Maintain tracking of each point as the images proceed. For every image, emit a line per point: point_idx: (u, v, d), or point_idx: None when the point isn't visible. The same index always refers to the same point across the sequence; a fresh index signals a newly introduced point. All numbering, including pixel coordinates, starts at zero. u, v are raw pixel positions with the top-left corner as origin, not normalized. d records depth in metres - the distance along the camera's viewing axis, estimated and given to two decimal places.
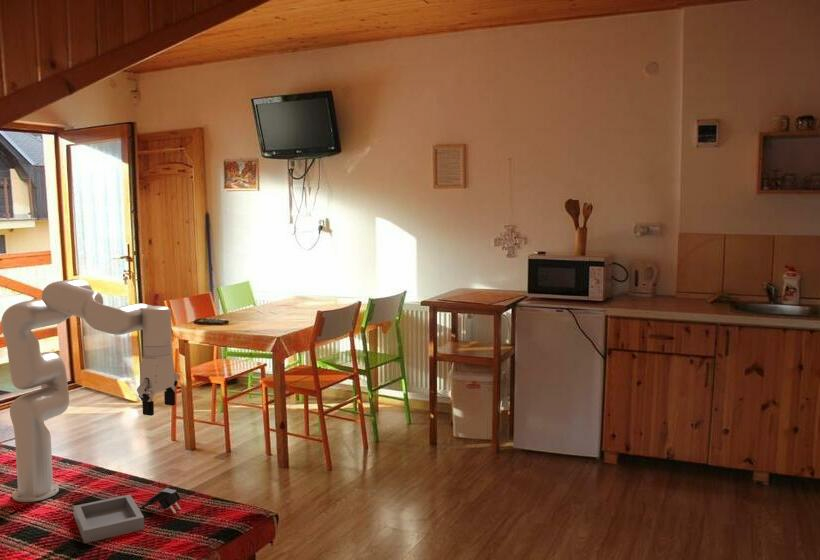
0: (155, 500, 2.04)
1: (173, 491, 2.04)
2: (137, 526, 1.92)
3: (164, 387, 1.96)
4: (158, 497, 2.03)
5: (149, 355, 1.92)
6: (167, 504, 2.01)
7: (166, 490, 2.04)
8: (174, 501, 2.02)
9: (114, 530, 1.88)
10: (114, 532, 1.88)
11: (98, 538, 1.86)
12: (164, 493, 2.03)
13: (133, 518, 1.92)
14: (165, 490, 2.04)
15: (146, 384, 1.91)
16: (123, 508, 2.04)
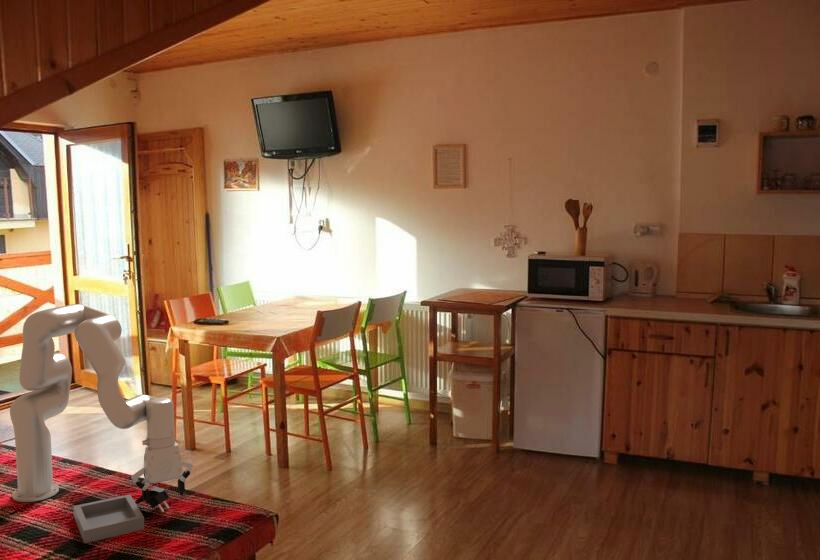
0: None
1: (161, 490, 2.04)
2: (137, 526, 1.92)
3: None
4: None
5: None
6: (155, 503, 2.02)
7: (154, 489, 2.04)
8: (162, 500, 2.02)
9: (114, 530, 1.88)
10: (114, 532, 1.88)
11: (98, 538, 1.86)
12: (152, 492, 2.04)
13: (133, 518, 1.92)
14: (153, 489, 2.04)
15: None
16: (123, 508, 2.04)
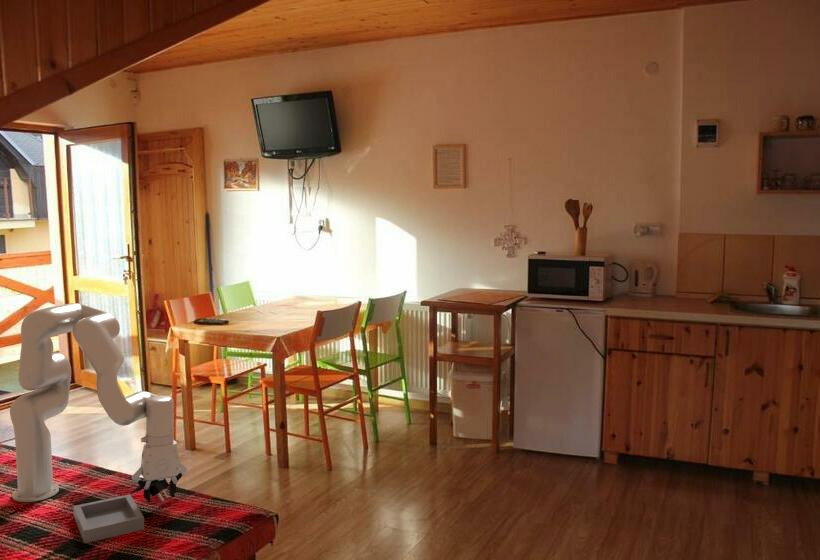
0: None
1: None
2: (137, 526, 1.92)
3: None
4: None
5: None
6: (155, 491, 2.03)
7: None
8: (162, 488, 2.04)
9: (114, 530, 1.88)
10: (114, 532, 1.88)
11: (98, 538, 1.86)
12: None
13: (133, 518, 1.92)
14: None
15: None
16: (123, 508, 2.04)
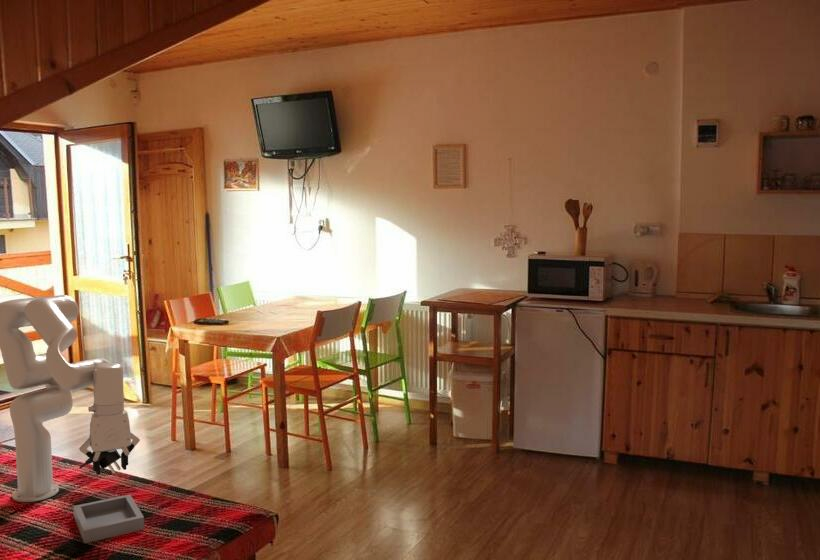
0: None
1: (112, 450, 1.96)
2: (137, 526, 1.92)
3: None
4: None
5: None
6: (106, 463, 1.93)
7: None
8: (113, 460, 1.94)
9: (114, 530, 1.88)
10: (114, 532, 1.88)
11: (98, 538, 1.86)
12: (103, 452, 1.95)
13: (133, 518, 1.92)
14: None
15: None
16: (123, 508, 2.04)
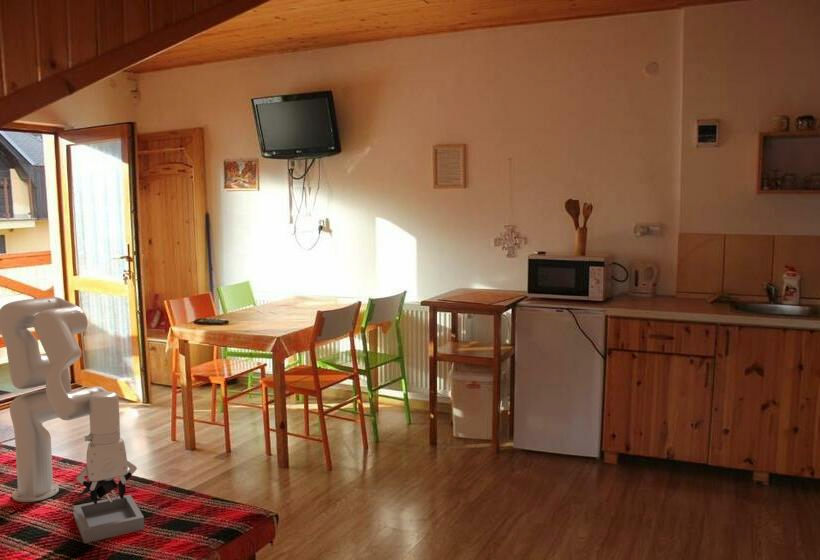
0: None
1: (109, 479, 1.96)
2: (137, 526, 1.92)
3: None
4: None
5: None
6: (103, 492, 1.93)
7: None
8: (110, 489, 1.94)
9: (114, 530, 1.88)
10: (114, 532, 1.88)
11: (98, 538, 1.86)
12: (100, 481, 1.95)
13: (133, 518, 1.92)
14: None
15: None
16: (123, 508, 2.04)
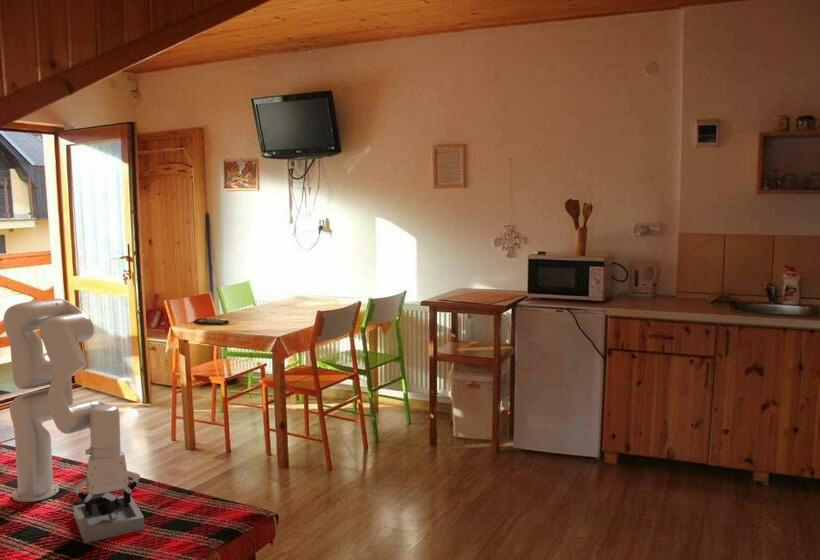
0: (93, 502, 1.96)
1: (113, 498, 1.96)
2: (137, 526, 1.92)
3: None
4: (96, 501, 1.95)
5: None
6: (105, 511, 1.94)
7: (106, 496, 1.95)
8: (113, 509, 1.95)
9: (114, 530, 1.88)
10: (114, 532, 1.88)
11: (98, 538, 1.86)
12: (104, 499, 1.95)
13: (133, 518, 1.92)
14: (105, 495, 1.95)
15: None
16: (123, 508, 2.04)
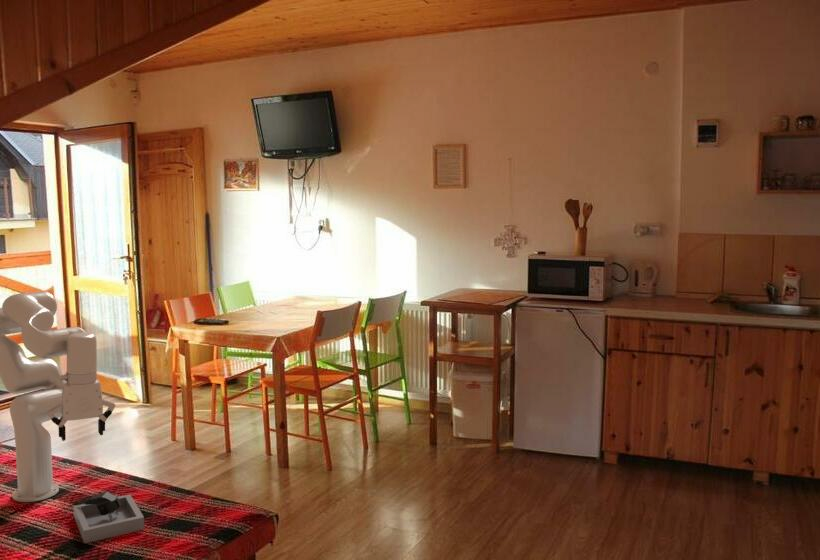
0: (93, 502, 1.96)
1: (113, 498, 1.96)
2: (137, 526, 1.92)
3: None
4: (97, 501, 1.95)
5: None
6: (105, 511, 1.94)
7: (106, 496, 1.96)
8: (113, 509, 1.95)
9: (114, 530, 1.88)
10: (114, 532, 1.88)
11: (98, 538, 1.86)
12: (104, 499, 1.95)
13: (133, 518, 1.92)
14: (105, 495, 1.95)
15: None
16: (123, 508, 2.04)
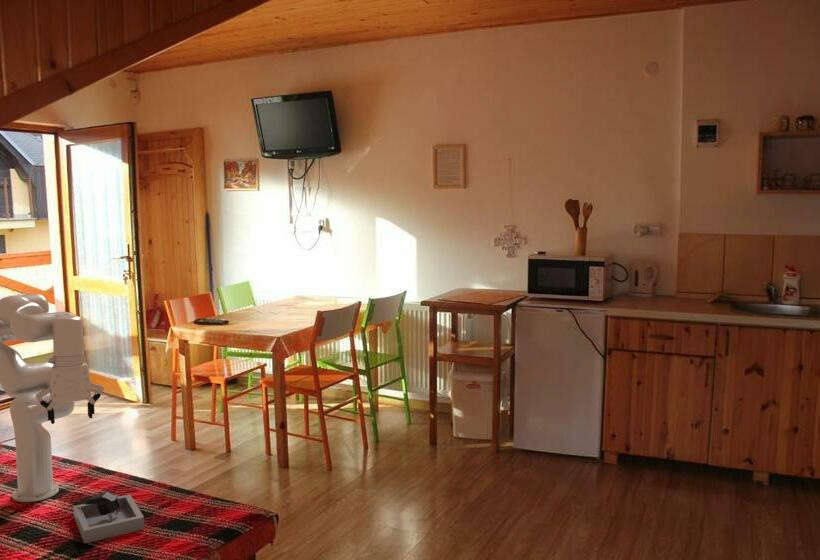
0: (93, 502, 1.96)
1: (113, 498, 1.96)
2: (137, 526, 1.92)
3: None
4: (97, 501, 1.96)
5: None
6: (105, 511, 1.94)
7: (106, 495, 1.96)
8: (113, 509, 1.95)
9: (114, 530, 1.88)
10: (114, 532, 1.88)
11: (98, 538, 1.86)
12: (104, 499, 1.95)
13: (133, 518, 1.92)
14: (105, 495, 1.95)
15: None
16: (123, 508, 2.04)
